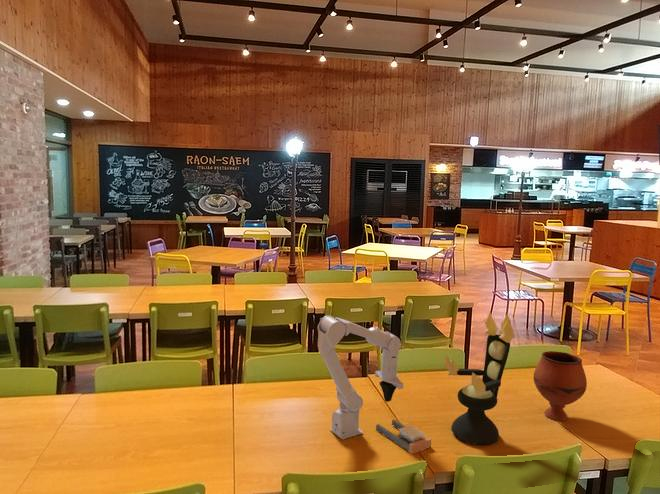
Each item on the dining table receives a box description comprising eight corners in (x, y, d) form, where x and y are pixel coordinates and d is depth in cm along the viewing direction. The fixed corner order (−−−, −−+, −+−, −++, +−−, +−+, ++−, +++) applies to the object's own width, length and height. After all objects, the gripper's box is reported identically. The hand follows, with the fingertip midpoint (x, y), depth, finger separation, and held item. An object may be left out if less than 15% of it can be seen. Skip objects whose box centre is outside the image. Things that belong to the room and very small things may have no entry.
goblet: (589, 430, 194) (595, 367, 191) (535, 424, 197) (540, 362, 194) (575, 409, 212) (581, 351, 209) (526, 403, 216) (531, 346, 213)
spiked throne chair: (438, 426, 193) (445, 309, 188) (487, 418, 201) (495, 306, 196) (468, 451, 176) (477, 323, 170) (520, 441, 184) (530, 319, 178)
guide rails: (411, 454, 173) (412, 445, 172) (376, 429, 189) (376, 422, 188) (430, 447, 177) (431, 439, 177) (394, 424, 194) (394, 416, 193)
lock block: (413, 450, 175) (414, 436, 175) (399, 442, 181) (399, 428, 180) (423, 446, 178) (424, 433, 177) (409, 438, 184) (409, 425, 183)
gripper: (410, 370, 186) (408, 405, 188) (385, 358, 199) (384, 391, 200) (395, 373, 183) (393, 409, 184) (371, 361, 195) (369, 395, 197)
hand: (387, 400), depth 192 cm, fingers closed
